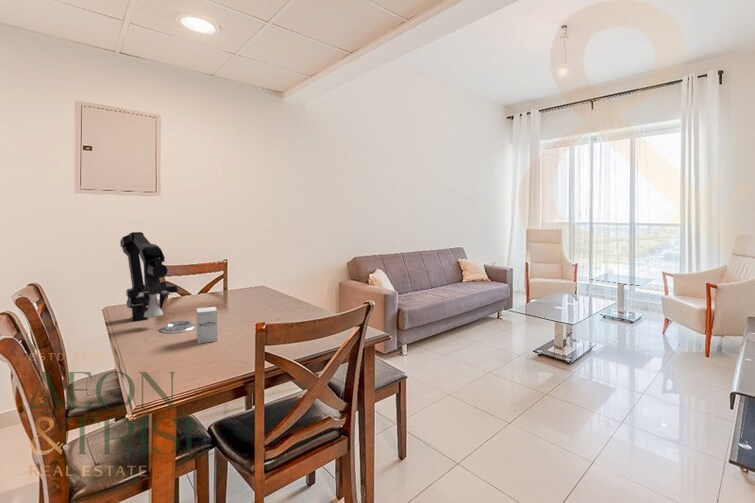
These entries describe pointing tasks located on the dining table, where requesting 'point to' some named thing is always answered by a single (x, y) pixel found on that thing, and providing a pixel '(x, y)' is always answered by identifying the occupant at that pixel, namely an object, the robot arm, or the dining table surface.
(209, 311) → the supplement box
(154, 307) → the flask
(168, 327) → the duct flange
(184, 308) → the dining table surface
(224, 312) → the dining table surface
